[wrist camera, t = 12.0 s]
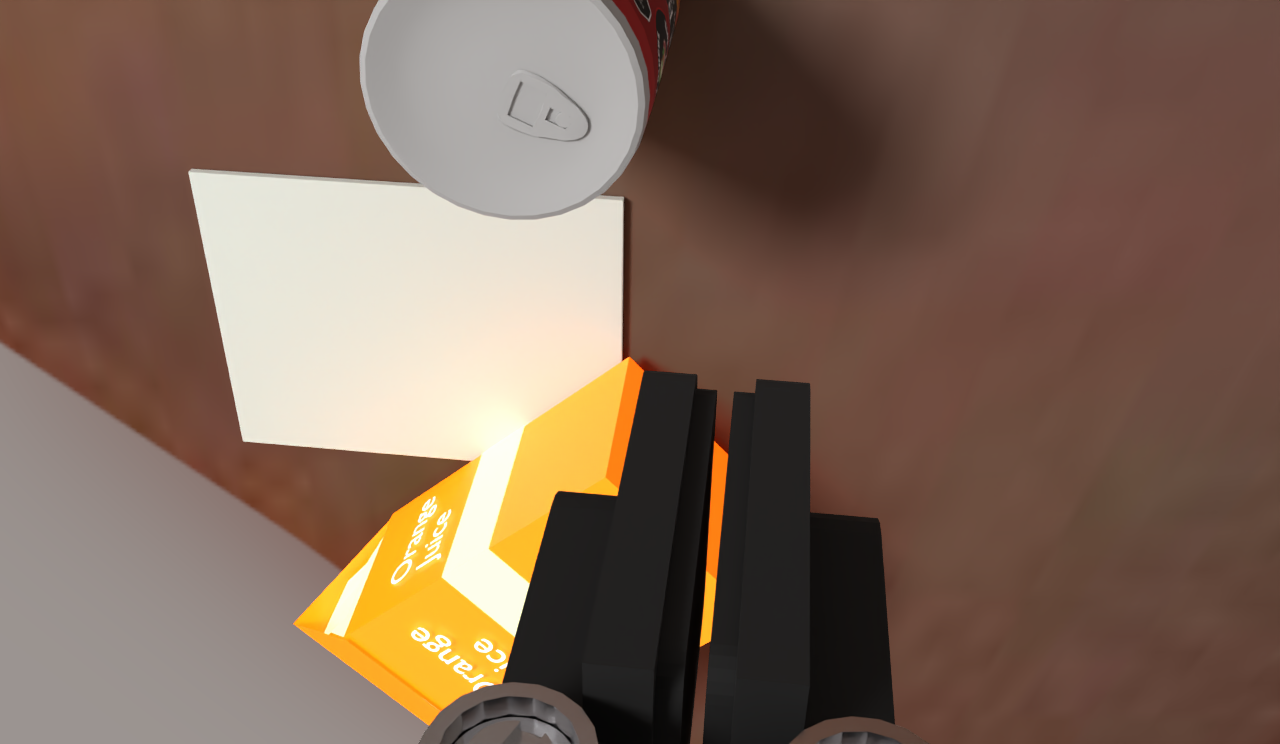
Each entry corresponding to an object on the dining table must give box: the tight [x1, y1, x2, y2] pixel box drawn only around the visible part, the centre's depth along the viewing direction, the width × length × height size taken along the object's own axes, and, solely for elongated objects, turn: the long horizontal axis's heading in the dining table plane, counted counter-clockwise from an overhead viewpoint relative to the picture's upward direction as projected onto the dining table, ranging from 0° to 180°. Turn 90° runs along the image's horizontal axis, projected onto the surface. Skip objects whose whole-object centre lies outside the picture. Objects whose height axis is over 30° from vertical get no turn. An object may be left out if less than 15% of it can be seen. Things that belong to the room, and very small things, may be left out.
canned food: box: [360, 0, 680, 220], centre depth 37 cm, size 8×8×11 cm
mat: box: [189, 169, 624, 461], centre depth 50 cm, size 17×13×1 cm
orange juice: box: [294, 357, 728, 725], centre depth 52 cm, size 8×9×20 cm
